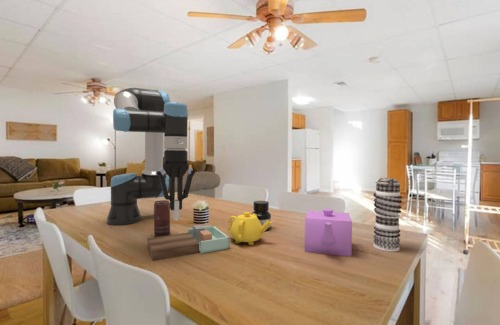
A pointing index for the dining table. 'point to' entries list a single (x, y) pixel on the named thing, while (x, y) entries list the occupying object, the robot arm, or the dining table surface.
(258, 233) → the teapot
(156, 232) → the can
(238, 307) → the dining table surface
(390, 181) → the decorative candle
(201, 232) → the terracotta tile
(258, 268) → the dining table surface
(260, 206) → the ink bottle
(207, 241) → the tray
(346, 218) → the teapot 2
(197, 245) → the plate
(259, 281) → the dining table surface
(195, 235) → the grey square block
